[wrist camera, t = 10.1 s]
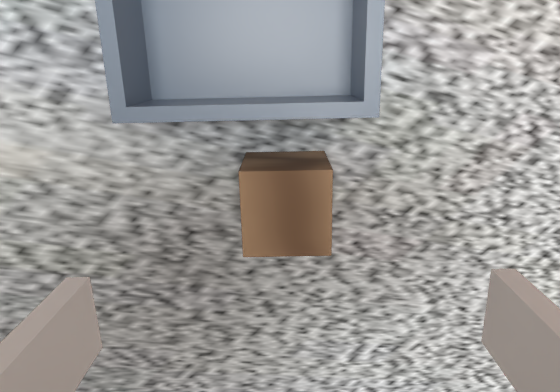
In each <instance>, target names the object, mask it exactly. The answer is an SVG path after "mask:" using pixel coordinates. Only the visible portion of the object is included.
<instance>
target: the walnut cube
mask: <svg viewBox="0 0 560 392" xmlns="http://www.w3.org/2000/svg"><path fill="white" fill-rule="evenodd" d="M332 184H333V169H332V167H331V165H330V163H329V161H328V158H327V156H326V154H325V152H324V151H296V152H246V155H245V157H244V159H243V162H242V164H241V167H240V169H239V189H240V208H241V226H242V245H243V257H276V256H331V245H332Z"/></svg>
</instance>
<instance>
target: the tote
mask: <svg viewBox="0 0 560 392" xmlns="http://www.w3.org/2000/svg"><path fill="white" fill-rule="evenodd" d="M95 3H96V11H97V18H98V25H99V32H100V39H101V46H102V53H103V60H104V67H105V74H106V81H107V88H108V95H109V102H110V109H111V116H112V123H148V122H193V121H238V120H283V119H327V118H372V117H379V110H380V89H381V68H382V47H383V26H384V5H385V0H95Z"/></svg>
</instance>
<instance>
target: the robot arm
mask: <svg viewBox="0 0 560 392" xmlns="http://www.w3.org/2000/svg"><path fill="white" fill-rule="evenodd" d="M481 342H482V343H483V345H484V346H485V347H486V349H487V350H488V352H489V353H490V354H491V356H492V357H493V359H494V360H495V362H496V363H497V364H498V366H499V367H500V369H501V370H502V371H503V373H504V374H505V376H506V377H507V379H508V380H509V381H510V383H511V384H512V386H513V387H514V388H515V390H516V391H517V392H560V308H559V307H557V306H556V305H555V304H554V303H553V302H552V301H551V300H550V299H548V298H547V297H546V296H545V295H544V294H543V293H542V292H541V291H540V290H538V289H537V288H536V287H535V286H534V285H533V284H532V283H531V282H529V281H528V280H527V279H526V278H525V277H524V276H523V275H522V274H521V273H519V272H518V271H517V270H516V269H491V275H490V283H489V290H488V297H487V304H486V312H485V319H484V326H483V333H482V341H481ZM102 348H103V347H102V342H101V336H100V331H99V325H98V320H97V314H96V309H95V303H94V298H93V292H92V287H91V281H90V277H66V278H65V279H64V280H63V281H62V282H61V283H60V284H59V285H58V286H57V287H56V288H55V289H54V290H53V291H52V292H51V293H50V294H49V295H48V296H47V297H46V298H45V299H44V300H43V301H42V302H41V303H40V304H39V305H38V306H37V307H36V308H35V309H34V310H33V311H32V312H31V313H30V314H29V315H28V316H27V317H26V318H25V319H24V320H23V321H22V322H21V323H20V324H19V325H18V326H17V327H16V328H15V329H14V330H13V331H12V332H11V333H10V334H9V335H8V336H7V337H6V338H4V339H3V340H2V341H1V342H0V392H74V391H75V390H76V388H77V387H78V385H79V384H80V382H81V380H82V379H83V377H84V376H85V374H86V373H87V371H88V369H89V368H90V366H91V365H92V363H93V362H94V360H95V359H96V357H97V355H98V354H99V352H100V351H101V349H102Z"/></svg>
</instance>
